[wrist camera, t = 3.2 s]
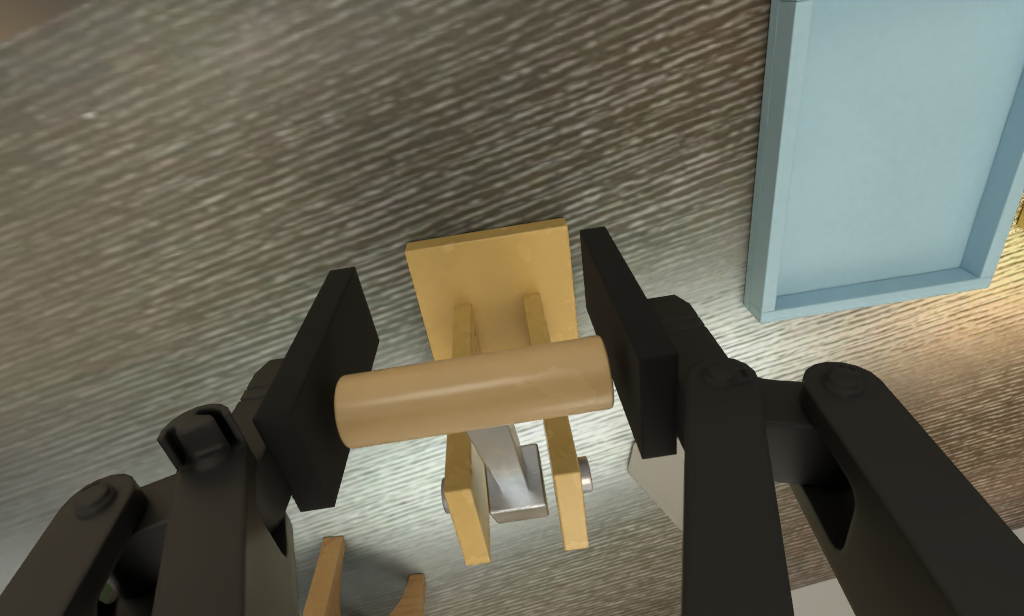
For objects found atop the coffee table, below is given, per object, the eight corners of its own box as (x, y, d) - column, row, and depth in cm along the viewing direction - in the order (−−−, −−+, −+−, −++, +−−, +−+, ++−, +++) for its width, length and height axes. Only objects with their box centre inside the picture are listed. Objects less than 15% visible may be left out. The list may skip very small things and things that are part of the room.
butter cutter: (406, 242, 30) (357, 423, 17) (564, 216, 30) (633, 380, 17) (449, 403, 36) (437, 625, 23) (580, 382, 36) (640, 595, 23)
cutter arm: (334, 349, 12) (330, 455, 11) (596, 308, 12) (621, 409, 11) (449, 473, 24) (453, 530, 22) (582, 452, 23) (593, 509, 22)
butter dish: (772, -19, 25) (798, -20, 23) (1067, -68, 24) (1119, -74, 22) (743, 305, 34) (760, 324, 32) (958, 270, 33) (989, 288, 31)
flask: (656, 405, 37) (712, 527, 29) (741, 429, 39) (818, 551, 30) (610, 474, 41) (648, 602, 32) (690, 493, 42) (746, 620, 34)
